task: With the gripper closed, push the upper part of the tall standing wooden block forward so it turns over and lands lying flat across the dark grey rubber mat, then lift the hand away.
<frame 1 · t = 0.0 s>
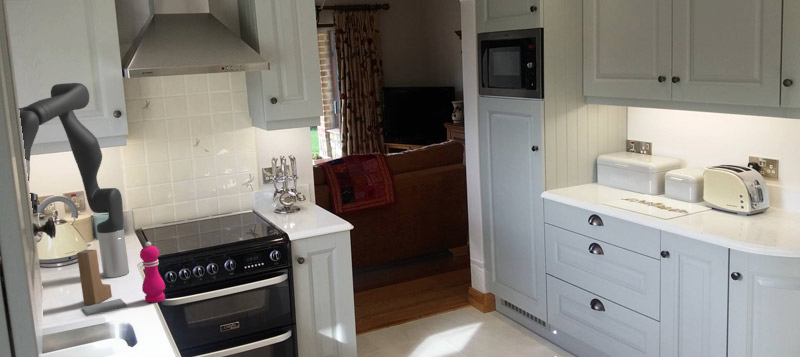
hand: (11, 228, 212), 31 cm above the countertop, tool tilted 20°, fingers open, 8 cm apart
pepper mill: (155, 300, 238), on the countertop
wooden block: (98, 301, 241), on the countertop
grey mat: (104, 307, 233), on the countertop
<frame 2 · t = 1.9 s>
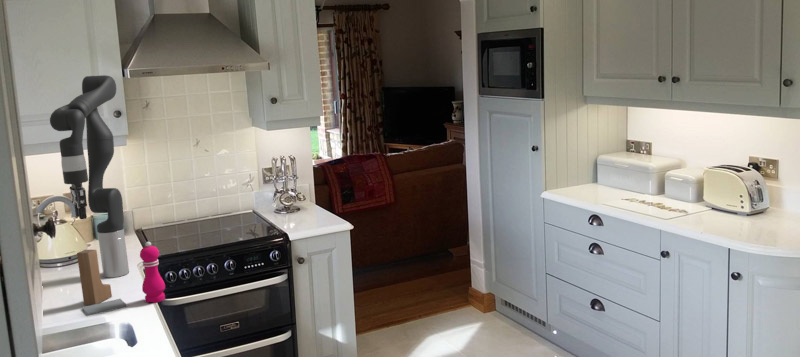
hand: (81, 217, 244), 27 cm above the countertop, tool pointing down, fingers open, 5 cm apart
nothing on the countertop moved.
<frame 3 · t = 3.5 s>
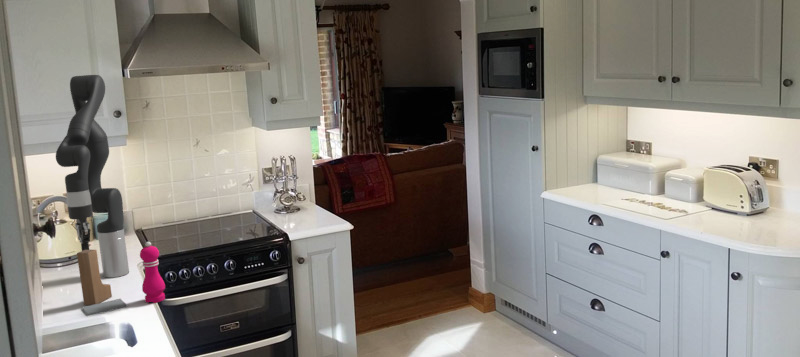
hand: (85, 253, 246), 15 cm above the countertop, tool pointing down, fingers closed
nothing on the countertop moved.
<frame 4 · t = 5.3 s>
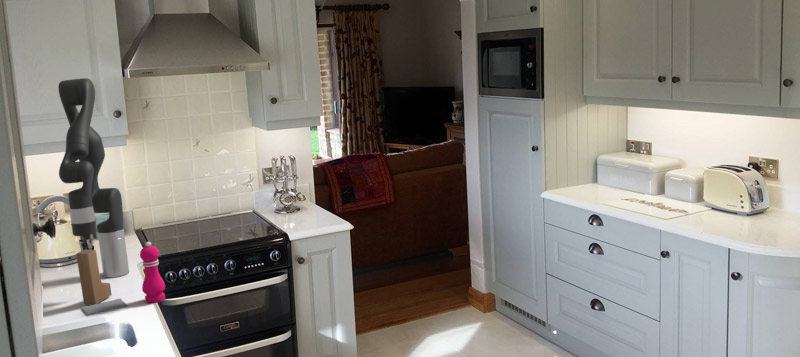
hand: (89, 269, 244), 10 cm above the countertop, tool pointing down, fingers closed
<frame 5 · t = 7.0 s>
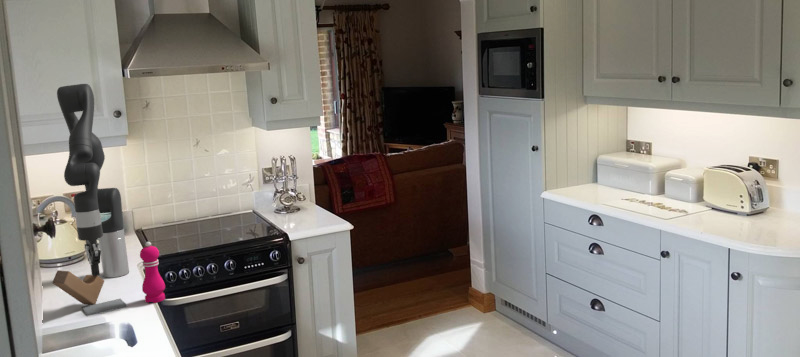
hand: (95, 275, 236), 10 cm above the countertop, tool pointing down, fingers closed
wooden block: (94, 292, 239), point 3 cm above the countertop, touching gripper
everything else where it was.
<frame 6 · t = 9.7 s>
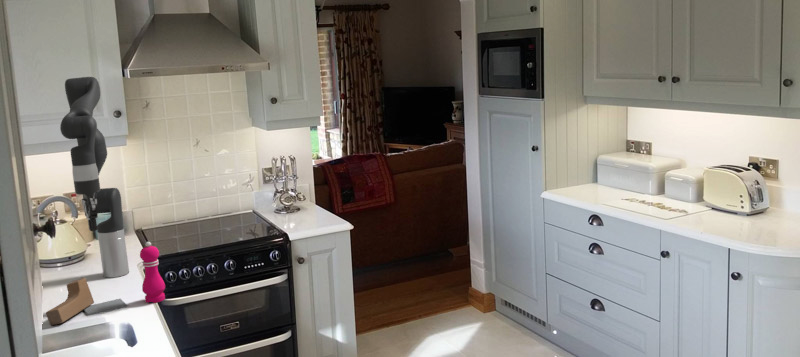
hand: (93, 230, 233), 25 cm above the countertop, tool pointing down, fingers closed
wooden block: (84, 291, 236), point 5 cm above the countertop, touching grey mat
everything else where it was.
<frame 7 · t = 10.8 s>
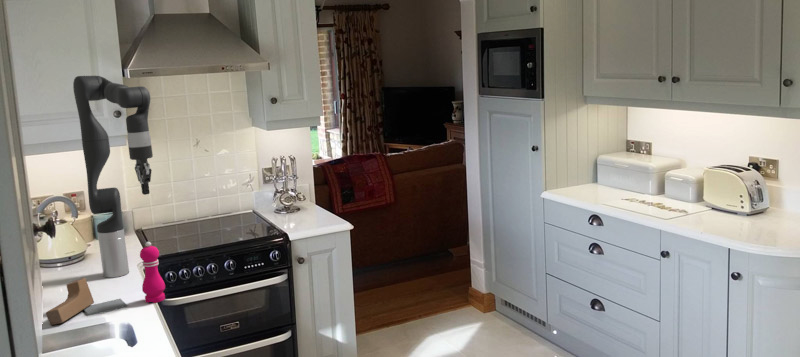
hand: (146, 194, 250), 33 cm above the countertop, tool pointing down, fingers closed
nothing on the countertop moved.
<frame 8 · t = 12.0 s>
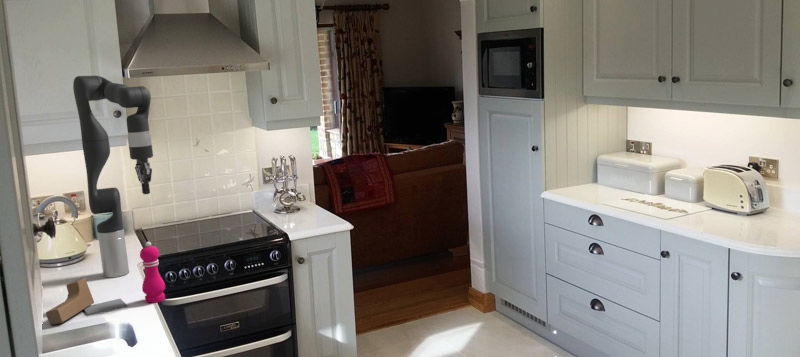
hand: (146, 193, 250), 33 cm above the countertop, tool pointing down, fingers closed
nothing on the countertop moved.
at the end: wooden block tilted 90°; wooden block inside the target area (4.3 cm from its centre), point 4.8 cm above the countertop; wooden block touching grey mat, countertop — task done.
